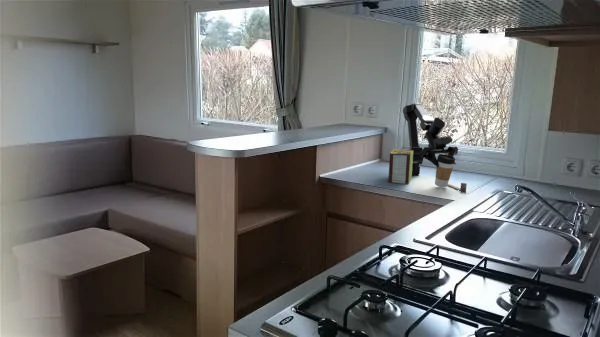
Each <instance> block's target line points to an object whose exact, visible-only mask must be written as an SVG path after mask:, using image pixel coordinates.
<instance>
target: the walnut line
mask: <svg viewBox="0 0 600 337" xmlns="http://www.w3.org/2000/svg"><path fill="white" fill-rule="evenodd" d="M467 185H468V183H466V182H460V187H457V186H456V185H453V184H450V183H448V185H447V187H449V188H451V189H453V188H454V189H453V190H455V191H458V190H459V191H458V192H460V191H461V192H460V193H466V192H467Z"/></svg>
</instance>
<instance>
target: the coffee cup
mask: <svg viewBox="0 0 600 337" xmlns="http://www.w3.org/2000/svg"><path fill="white" fill-rule="evenodd" d="M437 155H438V156H437V157H436V159H437V161H438V164H439V166H438V167H437V166H435V167H436V168H435V181H434V185H435V186H437V187H438V188H447V187H448V186H447V185H448V184H449V182H450V178H451V176H452V172H453V169H454V165H455V164H456V163H455V162H456V158H455V157H454V156H453V157H452V156H449V155H445V154H437Z"/></svg>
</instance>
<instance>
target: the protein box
mask: <svg viewBox="0 0 600 337" xmlns="http://www.w3.org/2000/svg"><path fill="white" fill-rule="evenodd" d="M388 162H389V163H388V164H389V165H388V166H389V167H388V183H391V184H401V185H409V184H410V183H411V180H412V176H413V175H412V164H413V150H408V149H398V148H393V149H392V150H391V152H390V153H389V161H388Z"/></svg>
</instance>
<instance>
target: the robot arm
mask: <svg viewBox="0 0 600 337" xmlns="http://www.w3.org/2000/svg"><path fill="white" fill-rule="evenodd" d="M402 114H403V117H404V119H405V120H406V122H407V130H408V139H409V140H408V141H409V148H408V149H407V150H413V164H412V176H417V177H418V176H420V169H421V166H420V165H422V164H423V162H424V159H425V160H427V161H429V162H430V163H432V164H433V165H434V166H435V167H438V166H439V164H438V161H437V157H436V155H439V154H444V155H449V156H452V157H454V156H455V155H456V154H457V153H458V151H459V148H458V146H455V145H451V146H450V144H451V143H452V142H453V138H452V136H451V135H447V136H441V137H440V136H439V135H440V134H441V133H442V131H443V130H444V128H445V126H446V123H445V121H444V120H443V119H441V118H440V117H439V116H437V117H435V118H434V117H432V116H430V115H429V114H428V112H427V111H426V110H425V108H424V106H423V104H422V103H421V102H420V103H418V102H414V103H411V104H408V105H405V106H404V107H403V109H402ZM417 120H419V121H420V124H419V126H420V127H419V128H420V129H421V131H422V132H424V131H425V133H424V136H423V139H426V140H427V142H428V145H427V146H424V148H423V147H422V146H421V147H420V145H419V136H418V125H417V124H418V123H417ZM447 145H448V148H447ZM445 148H446V149H445Z"/></svg>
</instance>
